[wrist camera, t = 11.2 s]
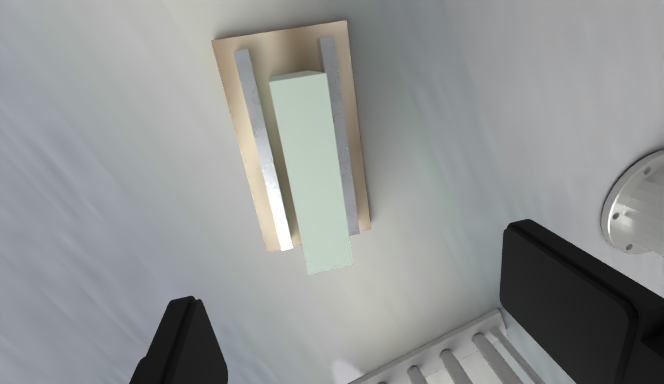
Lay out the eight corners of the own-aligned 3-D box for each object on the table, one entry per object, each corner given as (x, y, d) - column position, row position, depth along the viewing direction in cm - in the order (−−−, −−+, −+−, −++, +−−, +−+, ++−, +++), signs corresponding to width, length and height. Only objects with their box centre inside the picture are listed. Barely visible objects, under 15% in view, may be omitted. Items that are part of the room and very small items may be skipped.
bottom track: (343, 21, 25) (352, 16, 23) (368, 224, 32) (377, 239, 30) (213, 41, 24) (206, 38, 22) (267, 246, 31) (267, 264, 28)
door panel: (307, 70, 25) (326, 72, 17) (329, 209, 30) (352, 264, 22) (269, 76, 25) (268, 82, 17) (297, 215, 30) (308, 274, 21)
